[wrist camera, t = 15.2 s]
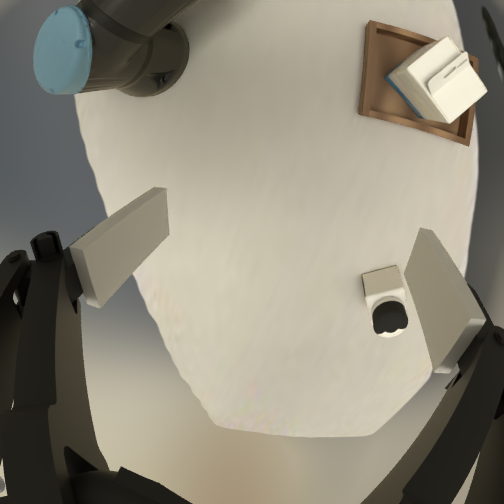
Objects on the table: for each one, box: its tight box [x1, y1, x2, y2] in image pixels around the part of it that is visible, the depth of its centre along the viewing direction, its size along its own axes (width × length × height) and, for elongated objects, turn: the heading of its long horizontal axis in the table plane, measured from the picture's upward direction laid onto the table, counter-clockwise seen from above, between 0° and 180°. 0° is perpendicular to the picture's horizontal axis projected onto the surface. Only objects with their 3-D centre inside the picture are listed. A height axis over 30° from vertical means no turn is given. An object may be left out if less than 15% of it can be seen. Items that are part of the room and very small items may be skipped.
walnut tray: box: [358, 20, 478, 146], centre depth 30 cm, size 18×15×4 cm
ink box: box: [385, 36, 487, 124], centre depth 26 cm, size 9×8×13 cm
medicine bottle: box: [362, 266, 408, 337], centre depth 46 cm, size 7×7×12 cm
